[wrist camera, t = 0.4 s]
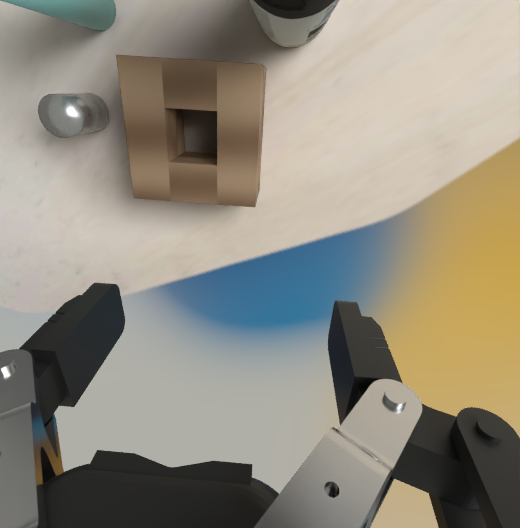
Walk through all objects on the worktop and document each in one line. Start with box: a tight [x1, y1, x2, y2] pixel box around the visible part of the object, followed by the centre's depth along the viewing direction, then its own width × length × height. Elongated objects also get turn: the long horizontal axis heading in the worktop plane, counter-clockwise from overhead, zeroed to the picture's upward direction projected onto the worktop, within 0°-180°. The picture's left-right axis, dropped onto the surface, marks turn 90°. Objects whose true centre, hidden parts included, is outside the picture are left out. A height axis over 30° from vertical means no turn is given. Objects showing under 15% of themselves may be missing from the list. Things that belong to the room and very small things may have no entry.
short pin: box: [38, 93, 110, 138], centre depth 32 cm, size 4×4×6 cm
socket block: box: [116, 55, 266, 207], centre depth 32 cm, size 12×12×6 cm
